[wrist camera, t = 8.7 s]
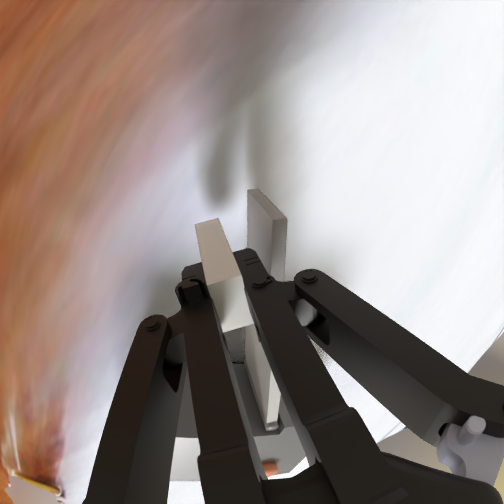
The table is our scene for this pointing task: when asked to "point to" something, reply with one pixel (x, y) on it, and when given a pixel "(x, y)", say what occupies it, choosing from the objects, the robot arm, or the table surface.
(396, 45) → the table surface
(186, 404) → the housing
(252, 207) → the side door
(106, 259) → the table surface
